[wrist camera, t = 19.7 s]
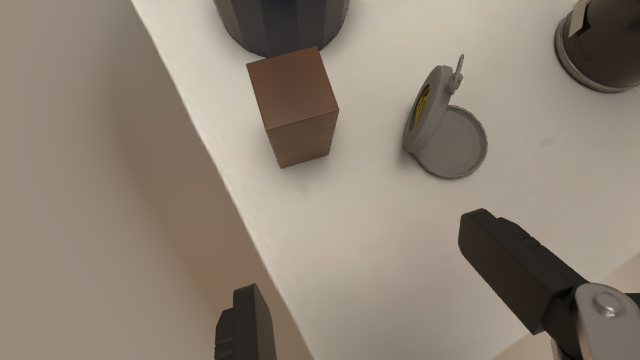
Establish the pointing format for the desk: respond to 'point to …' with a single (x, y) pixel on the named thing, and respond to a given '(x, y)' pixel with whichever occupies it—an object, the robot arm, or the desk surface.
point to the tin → (282, 23)
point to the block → (295, 104)
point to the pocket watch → (444, 128)
